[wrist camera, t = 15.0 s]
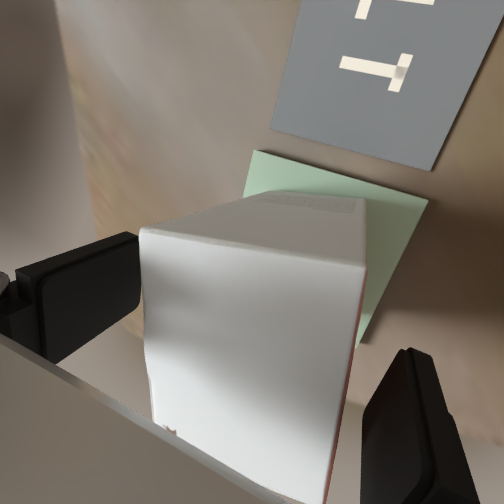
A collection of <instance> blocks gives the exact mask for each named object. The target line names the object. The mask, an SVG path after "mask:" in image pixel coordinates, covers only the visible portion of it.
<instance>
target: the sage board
mask: <svg viewBox="0 0 504 504" xmlns="http://www.w3.org/2000/svg"><path fill="white" fill-rule="evenodd" d="M270 190H275V191H286V192H297V193H308V194H318V195H329V196H341V197H352V198H363V199H365V200H366V261H367V267H368V275H367V281H366V286H365V292H364V299H363V305H362V311H361V318H360V322H359V327H358V332H357V337H356V343H355V349H356V348H357V346H358V344H359V342H360V340H361V338H362V336H363V334H364V332H365V330H366V327H367V325H368V323H369V321H370V319H371V317H372V315H373V313H374V311H375V309H376V307H377V305H378V303H379V301H380V299H381V297H382V295H383V293H384V291H385V289H386V287H387V285H388V283H389V280H390V278H391V276H392V274H393V272H394V270H395V268H396V266H397V264H398V262H399V260H400V258H401V256H402V254H403V252H404V250H405V248H406V246H407V244H408V242H409V240H410V238H411V235H412V233H413V231H414V229H415V227H416V225H417V223H418V221H419V219H420V217H421V215H422V213H423V211H424V209H425V207H426V205H427V203H428V200H427V199H425V198H421V197H418V196H414V195H411V194H407V193H404V192H401V191H397V190H394V189H390V188H387V187H383V186H380V185H376V184H373V183H369V182H366V181H362V180H359V179H356V178H352V177H349V176H345V175H342V174H338V173H335V172H331V171H328V170H324V169H321V168H317V167H314V166H311V165H307V164H304V163H300V162H297V161H293V160H290V159H286V158H283V157H279V156H276V155H272V154H269V153H266V152H262V151H259V150H254V152H253V156H252V160H251V164H250V168H249V173H248V177H247V181H246V185H245V189H244V194H243V198H245V197H248V196H252V195H255V194H259V193H262V192H265V191H270Z"/></svg>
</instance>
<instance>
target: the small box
mask: <svg viewBox="0 0 504 504" xmlns="http://www.w3.org/2000/svg"><path fill="white" fill-rule="evenodd" d="M139 249H140V266H141V285H142V297H143V314H144V351H145V360H146V366H147V372H148V377H149V383H150V396H151V407H152V415H153V416H152V417H153V422H154V423H156V424H158V425H159V426H161V427H163V428H164V429H166V430H168V431H169V432H171V433H173V434H175V435H176V436H178V437H180V438H181V439H183V440H185V441H186V442H188V443H190V444H191V445H193V446H195V447H197V448H198V449H200V450H202V451H203V452H205V453H207V454H208V455H210V456H212V457H213V458H215V459H217V460H218V461H220V462H222V463H223V464H225V465H227V466H228V467H230V468H232V469H234V470H235V471H237V472H239V473H240V474H242V475H244V476H245V477H247V478H249V479H250V480H252V481H254V482H255V483H257V484H259V485H261V486H263V487H266V488H268V489H271V490H273V491H275V492H278V493H280V494H283V495H286V496H288V497H290V498H292V499H295V500H298V501H300V502H303V503H306V504H325V503H326V500H327V495H328V490H329V485H330V480H331V474H332V469H333V463H334V458H335V453H336V449H337V443H338V437H339V431H340V425H341V420H342V415H343V409H344V405H345V399H346V394H347V389H348V383H349V377H350V372H351V366H352V360H353V354H354V348H355V343H356V337H357V332H358V327H359V322H360V318H361V311H362V305H363V299H364V292H365V286H366V281H367V275H368V267H367V261H366V200H365V199H363V198H352V197H341V196H329V195H318V194H308V193H297V192H286V191H275V190H270V191H265V192H262V193H259V194H255V195H252V196H248V197H245V198H242V199H239V200H236V201H232V202H229V203H226V204H222V205H219V206H215V207H212V208H209V209H205V210H202V211H199V212H195V213H192V214H189V215H186V216H182V217H179V218H175V219H171V220H168V221H165V222H161V223H157V224H153V225H149V226H145V227H142V228H141V229H140V232H139Z"/></svg>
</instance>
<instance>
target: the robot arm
mask: <svg viewBox="0 0 504 504" xmlns="http://www.w3.org/2000/svg"><path fill="white" fill-rule="evenodd" d="M15 273H16V280H15V281H12V282H10V278H9V276H8V275H7V274H6V273H4V272H1V271H0V504H290V503H288V502H287V501H285V500H284V499H282V498H280V497H279V496H277V495H276V494H274V493H272V492H270V491H269V490H267V489H265V488H264V487H262V486H260V485H259V484H257V483H255V482H254V481H252V480H250V479H249V478H247V477H245V476H244V475H242V474H240V473H239V472H237V471H235V470H234V469H232V468H230V467H228V466H227V465H225V464H223V463H222V462H220V461H218V460H217V459H215V458H213V457H212V456H210V455H208V454H207V453H205V452H203V451H202V450H200V449H198V448H197V447H195V446H193V445H191V444H190V443H188V442H186V441H185V440H183V439H181V438H180V437H178V436H176V435H175V434H173V433H171V432H169V431H168V430H166V429H164V428H163V427H161V426H159V425H158V424H156V423H154V422H152V421H151V420H149V419H147V418H146V417H144V416H142V415H141V414H139V413H137V412H135V411H134V410H132V409H130V408H129V407H127V406H125V405H123V404H122V403H120V402H118V401H117V400H115V399H113V398H111V397H110V396H108V395H106V394H105V393H103V392H101V391H100V390H98V389H96V388H94V387H93V386H91V385H89V384H88V383H86V382H84V381H82V380H81V379H79V378H77V377H76V376H74V375H72V374H70V373H69V372H67V371H65V370H63V369H62V368H60V367H58V366H57V365H55V364H57V363H59V362H60V361H61V360H63V359H64V358H66V357H67V356H69V355H70V354H72V353H73V352H74V351H76V350H77V349H79V348H80V347H82V346H83V345H84V344H86V343H87V342H89V341H90V340H92V339H93V338H95V337H96V336H97V335H99V334H100V333H102V332H103V331H105V330H106V329H107V328H109V327H110V326H112V325H113V324H115V323H116V322H118V321H119V320H120V319H122V318H123V317H125V316H126V315H128V314H129V313H131V312H132V311H133V310H135V309H136V308H137V307H138V305H139V303H140V295H141V266H140V249H139V236H137V235H135V234H132V233H130V232H127V231H126V232H122V233H119V234H116V235H114V236H111V237H108V238H105V239H102V240H99V241H96V242H94V243H91V244H88V245H85V246H82V247H79V248H76V249H73V250H70V251H68V252H65V253H62V254H59V255H56V256H53V257H50V258H47V259H45V260H42V261H39V262H36V263H33V264H30V265H28V266H25V267H22V268H19V269H16V270H15ZM360 504H480V501H479V498H478V495H477V492H476V489H475V485H474V482H473V479H472V476H471V472H470V469H469V466H468V463H467V459H466V456H465V453H464V450H463V447H462V444H461V440H460V437H459V434H458V430H457V427H456V424H455V421H454V419H453V417H452V415H451V414H450V413H448V409H447V406H446V403H445V399H444V396H443V393H442V389H441V386H440V383H439V379H438V376H437V372H436V369H435V366H434V362H433V359H432V357H431V356H430V355H428V354H426V353H423V352H421V351H418V350H416V349H413V348H411V347H410V348H408V349H407V350H403V349H400V350H399V352H398V353H397V355H396V357H395V358H394V360H393V362H392V363H391V365H390V367H389V369H388V370H387V372H386V374H385V375H384V377H383V379H382V380H381V382H380V384H379V386H378V387H377V389H376V391H375V392H374V394H373V396H372V398H371V399H370V401H369V403H368V404H367V406H366V408H365V410H364V413H363V419H362V452H361V489H360Z"/></svg>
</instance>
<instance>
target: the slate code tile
mask: <svg viewBox="0 0 504 504" xmlns="http://www.w3.org/2000/svg"><path fill="white" fill-rule="evenodd" d="M503 15H504V0H302V1H301V5H300V9H299V13H298V17H297V21H296V25H295V29H294V33H293V37H292V41H291V45H290V49H289V53H288V57H287V61H286V65H285V69H284V73H283V77H282V81H281V85H280V89H279V93H278V97H277V101H276V105H275V109H274V113H273V117H272V121H271V125H270V129H272V130H276V131H279V132H283V133H287V134H291V135H294V136H298V137H302V138H306V139H309V140H313V141H317V142H321V143H324V144H328V145H332V146H336V147H339V148H343V149H347V150H351V151H354V152H358V153H362V154H366V155H370V156H373V157H377V158H381V159H385V160H388V161H392V162H396V163H400V164H403V165H407V166H411V167H415V168H418V169H422V170H426V171H430V170H431V168H432V166H433V163H434V161H435V159H436V157H437V155H438V153H439V151H440V149H441V147H442V144H443V142H444V140H445V138H446V136H447V134H448V132H449V130H450V127H451V125H452V123H453V121H454V119H455V117H456V115H457V113H458V111H459V108H460V106H461V104H462V102H463V100H464V98H465V96H466V94H467V91H468V89H469V87H470V85H471V83H472V81H473V79H474V77H475V75H476V72H477V70H478V68H479V66H480V64H481V62H482V60H483V58H484V55H485V53H486V51H487V49H488V47H489V45H490V43H491V41H492V39H493V36H494V34H495V32H496V30H497V28H498V26H499V24H500V22H501V19H502V17H503Z"/></svg>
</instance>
